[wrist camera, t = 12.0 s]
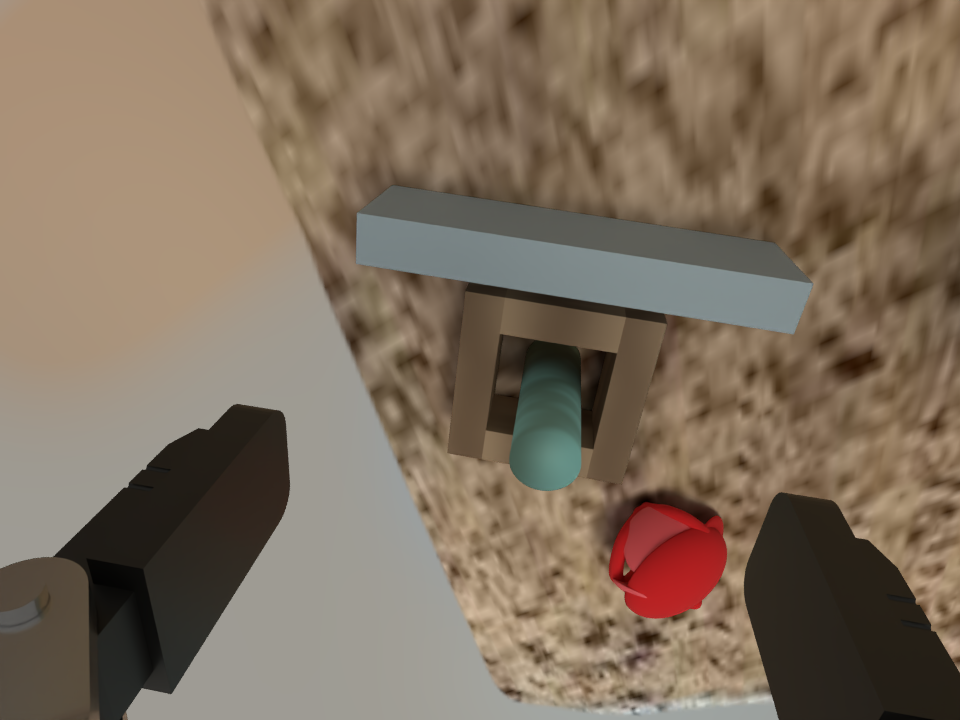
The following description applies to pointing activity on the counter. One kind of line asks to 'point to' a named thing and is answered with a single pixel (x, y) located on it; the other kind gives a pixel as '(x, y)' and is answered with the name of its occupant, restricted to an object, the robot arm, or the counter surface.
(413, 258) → the wall
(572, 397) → the dowel
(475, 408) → the holed block
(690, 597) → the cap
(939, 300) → the counter surface
